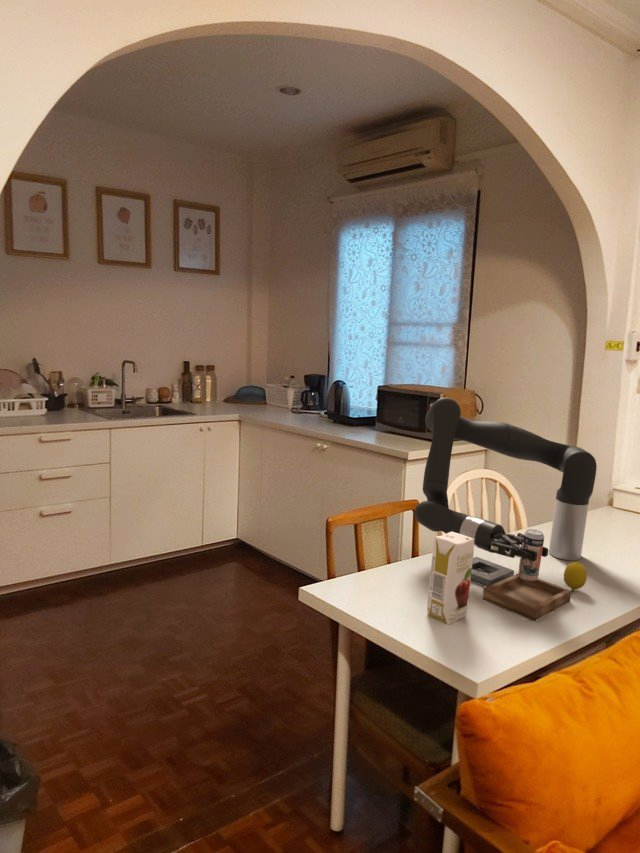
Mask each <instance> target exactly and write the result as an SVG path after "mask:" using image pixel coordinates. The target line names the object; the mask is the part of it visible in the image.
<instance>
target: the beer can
mask: <svg viewBox="0 0 640 853" xmlns="http://www.w3.org/2000/svg"><path fill="white" fill-rule="evenodd" d="M523 535H524V537H523V544H522V548H526V549H529V550H532V551H534V552H537V560H536V561H531V560H528V559H526V558H523V557H519V558H520V559H519V564H518V565H519V566H518V571H517V572H518V573H517V574H518V576H519V577H520V578H522V579H523V580H526V581H535V580H537V579H539V574H540V568H541V561H542V557H543V556H542V549H543V547H544V541H545V536H544V533H543V532H542V531H540V530H537V529H530V528H529V529H527V530H526V531H525V532H524V533H523Z"/></svg>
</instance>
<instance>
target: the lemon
mask: <svg viewBox="0 0 640 853" xmlns="http://www.w3.org/2000/svg"><path fill="white" fill-rule="evenodd" d="M587 578H588V577H587V570H586V568H585V566H584V565H583V564H582V563H580V562H579V561H578V560H575V561H572V562H570V563H569V564H567V565H566V567H565V569H564V573H563V581H564V583H565V585H566V586H567V587H568V588H570V589H571V591H576V590H579V589H582V588H583V587H584V586H585V584H586V582H587Z"/></svg>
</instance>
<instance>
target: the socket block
mask: <svg viewBox="0 0 640 853" xmlns="http://www.w3.org/2000/svg"><path fill="white" fill-rule="evenodd" d="M478 569H479V570H482V571H485V572H486V573H487V574H486V573H485V572H484V573H483V572H481V571H478ZM513 575H515V570H514V569H512V568H508V567H505V566H503V565H501V564H497V563H495V562H493V561H490V560H486V559H484V558H481V557H480V556H479V557H478V556H473V562H472V571H471V580H470V582H471V581H472V582H474V583H476V584H479V585H482V586H484V587H488V586H490V585H492V584H495V583H497V582H499V581H502V580H504V579H506V578H509V577H511V576H513Z"/></svg>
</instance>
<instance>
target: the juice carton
mask: <svg viewBox="0 0 640 853" xmlns="http://www.w3.org/2000/svg"><path fill="white" fill-rule="evenodd" d="M433 541H434V542H433V546H432V554H431V555H432V556H431V565H430V573H429V583H428V584H429V586H428V592H427V593H428V594H427V607H426V608H427V609H426V615H427V616H428V617H431V618H434V619H435V620H438V621H440V622H442V623H445V624H446V625H452V624H453V623H455V622H456V621H458V620H460V619H463V618H465V617H466V615H467V611H468V604H469V595H470V587H471V571H472V562H473V558H474V552H475V551H474V550H475V546H474V539H473V538H470V537H468V536H465V535H462V534H459V533H455V532H452V531H451V532H449V533H447V534H446V533H445V534H444V535H438V536H437V535H436V536H434V540H433Z"/></svg>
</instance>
